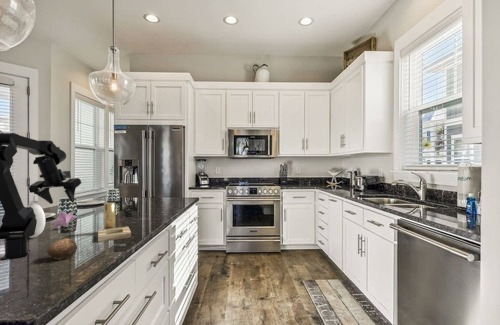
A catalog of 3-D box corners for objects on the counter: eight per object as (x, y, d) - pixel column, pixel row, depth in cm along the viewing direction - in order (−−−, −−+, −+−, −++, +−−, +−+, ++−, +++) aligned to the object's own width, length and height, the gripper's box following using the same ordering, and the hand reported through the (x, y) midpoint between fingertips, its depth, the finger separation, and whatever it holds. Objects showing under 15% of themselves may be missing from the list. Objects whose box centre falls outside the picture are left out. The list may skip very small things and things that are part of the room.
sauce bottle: (49, 235, 112) (50, 194, 111) (29, 241, 105) (30, 197, 104) (36, 233, 114) (37, 192, 113) (15, 238, 107) (16, 195, 106)
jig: (131, 237, 109) (131, 232, 109) (98, 241, 103) (97, 236, 103) (128, 230, 119) (128, 226, 119) (98, 234, 113) (98, 230, 113)
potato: (53, 244, 90) (57, 231, 88) (78, 250, 93) (82, 238, 91) (40, 263, 83) (44, 250, 81) (67, 268, 86) (71, 256, 84)
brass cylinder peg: (115, 232, 117) (115, 203, 117) (104, 233, 115) (104, 204, 115) (115, 230, 121) (115, 202, 121) (104, 231, 119) (104, 203, 119)
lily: (82, 227, 131) (75, 211, 132) (82, 222, 122) (74, 206, 123) (56, 238, 124) (49, 221, 125) (54, 234, 115) (46, 216, 116)
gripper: (82, 160, 114) (93, 191, 120) (40, 164, 114) (53, 194, 120) (66, 171, 104) (79, 204, 110) (20, 174, 104) (36, 208, 110)
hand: (62, 202), depth 113 cm, fingers open, 9 cm apart
